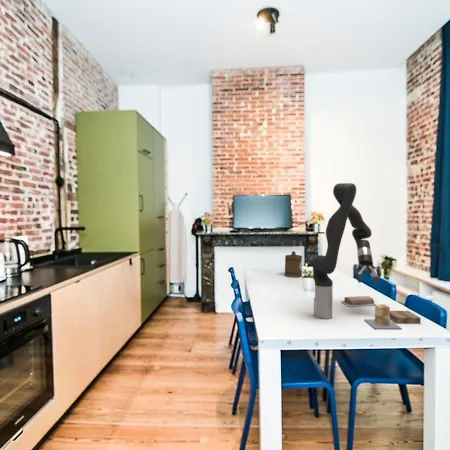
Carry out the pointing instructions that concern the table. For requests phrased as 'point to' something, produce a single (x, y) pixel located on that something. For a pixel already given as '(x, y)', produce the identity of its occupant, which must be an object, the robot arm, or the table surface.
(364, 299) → the packaged product
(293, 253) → the wooden container
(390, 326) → the mat
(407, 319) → the walnut ledge
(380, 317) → the maple block
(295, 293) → the table surface
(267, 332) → the table surface
